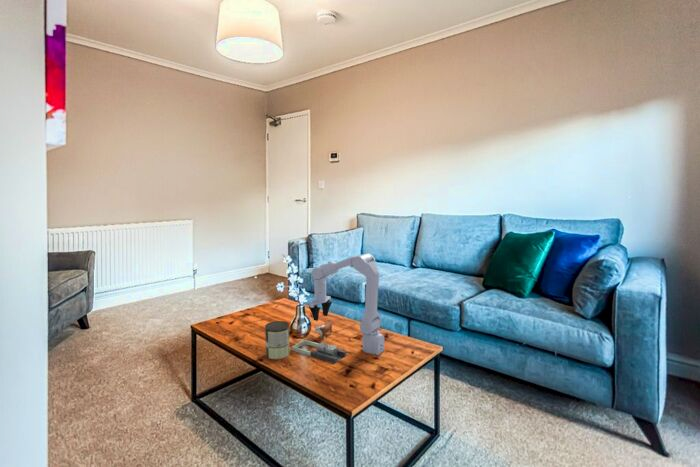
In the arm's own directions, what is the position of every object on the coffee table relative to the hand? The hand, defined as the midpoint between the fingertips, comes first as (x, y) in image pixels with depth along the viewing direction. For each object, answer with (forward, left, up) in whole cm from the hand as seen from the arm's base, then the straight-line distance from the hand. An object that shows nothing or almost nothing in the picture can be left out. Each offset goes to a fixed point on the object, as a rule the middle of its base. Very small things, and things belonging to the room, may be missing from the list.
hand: (320, 318), depth 181 cm
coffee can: (+4, +26, -10) cm, 28 cm away
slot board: (-15, +15, -10) cm, 24 cm away
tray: (-4, +15, -10) cm, 18 cm away
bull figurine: (-2, 0, -10) cm, 11 cm away
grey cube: (-17, +15, -9) cm, 25 cm away
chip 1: (-12, +15, -9) cm, 22 cm away
